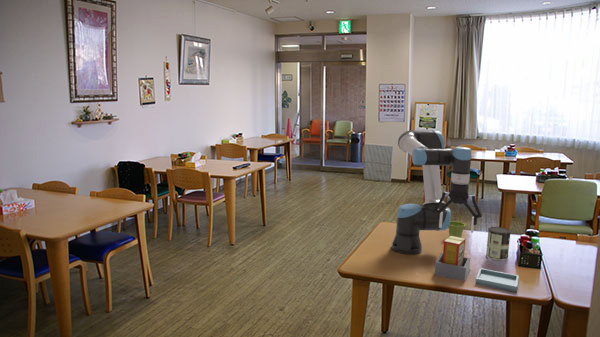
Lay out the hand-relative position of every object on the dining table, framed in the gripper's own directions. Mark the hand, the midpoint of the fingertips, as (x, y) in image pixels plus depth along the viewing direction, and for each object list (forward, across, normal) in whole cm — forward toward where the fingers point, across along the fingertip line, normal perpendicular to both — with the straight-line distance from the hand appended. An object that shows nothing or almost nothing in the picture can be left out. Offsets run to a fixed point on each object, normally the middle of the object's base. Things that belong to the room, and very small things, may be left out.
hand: (456, 229), depth 203 cm
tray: (+21, +19, -1) cm, 28 cm away
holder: (+20, 0, 0) cm, 21 cm away
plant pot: (+20, -7, +50) cm, 55 cm away
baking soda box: (+21, 0, 0) cm, 21 cm away
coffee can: (+21, +16, +32) cm, 42 cm away
